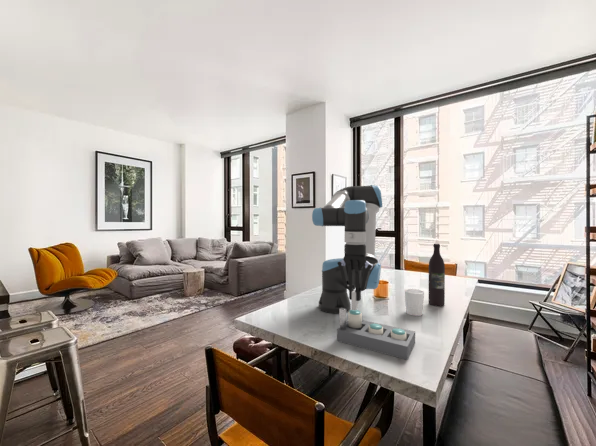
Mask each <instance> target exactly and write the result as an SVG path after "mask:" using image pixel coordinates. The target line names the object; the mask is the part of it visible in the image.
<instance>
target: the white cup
mask: <svg viewBox="0 0 596 446" xmlns="http://www.w3.org/2000/svg"><path fill="white" fill-rule="evenodd" d="M424 299H425V292H424V290H421V289H416V288H406V289H404V300H405V301H404V302H405V313H406V314H407V315H410V316H413V317H414V316H415V317H418V316H419V317H420V316H422V315H423V311H424Z"/></svg>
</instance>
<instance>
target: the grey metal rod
mask: <svg viewBox="0 0 596 446" xmlns="http://www.w3.org/2000/svg"><path fill="white" fill-rule="evenodd" d="M338 314H339V315H338V317H339V320H338V321H339V327H338V328H339V329H340V330H346V322H347V312H346V308H339V313H338Z"/></svg>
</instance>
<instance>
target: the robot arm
mask: <svg viewBox="0 0 596 446" xmlns="http://www.w3.org/2000/svg"><path fill="white" fill-rule="evenodd" d="M382 208H383V199H382V189H381V187H380V185H375V184H374V185H372V184H371V185H355V186H354V185H353V186H346V187H343V188H341V189H339V190H338V191H336V192H334V194H333V195H332V197H331V200H329V201H328V203H327V204H325V206H323V207H316V208H314V209H313V210H312V213H311V217H312V219H311V220H312V223H313V225H314V226H318V227H344V243H345V244H344V251H343V252H344V257H343V258H342V257H341V258H331V259H327V260H324V261H323V262H322V265H321V266H322V267H321V269H322V270H321V273H322V274H321V277H322V278H321V284H322V285H321V286H322V289H321V295H320V297H319V300H318V309H319V310H320V311H322V312H325V313H329V314H339V308H346V313H348V312H349V311H350V310H355V311H356V310H359V301H361V300H362V296H361V295H362V294H361V293H362V292H363V291H365V290H376V289H378V287H379V283H380V279H381V271H382V264H381V263H379V260H378V259H377V257H376V255H375V254H376V225H377V218H376V217H377V213H379V212H380V209H382ZM348 293H349V294H348Z"/></svg>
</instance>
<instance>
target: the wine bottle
mask: <svg viewBox="0 0 596 446" xmlns="http://www.w3.org/2000/svg"><path fill="white" fill-rule="evenodd" d="M432 245H433V253H432V255H431V256H430V259H429V261H428V304H429V305H431V306H433V307H438V308H439V307H444V306H445V298H446V297H445V295H446V292H445V291H446V287H445V286H446V285H445V284H446V283H445V282H446V281H445V279H446V277H445V276H446V271H445V270H446V266H445V261H444V258H443V257H442V255H441V253H440V251H441V249H440V248H441V245H440V243H433V244H432Z"/></svg>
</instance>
